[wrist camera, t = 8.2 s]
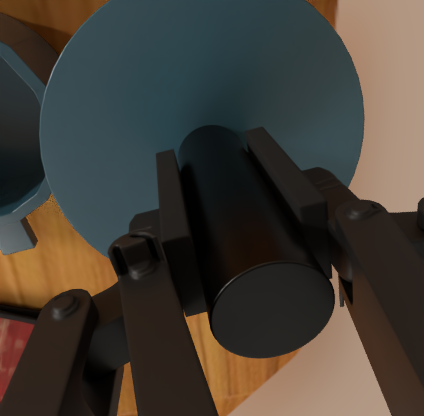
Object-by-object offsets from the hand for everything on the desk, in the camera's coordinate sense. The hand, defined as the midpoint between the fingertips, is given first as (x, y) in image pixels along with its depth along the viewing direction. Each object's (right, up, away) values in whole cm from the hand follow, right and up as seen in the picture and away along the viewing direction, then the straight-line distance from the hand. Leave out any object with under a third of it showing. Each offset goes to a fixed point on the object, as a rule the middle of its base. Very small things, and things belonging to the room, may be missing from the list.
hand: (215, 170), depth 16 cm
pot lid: (0, +1, +2) cm, 2 cm away
